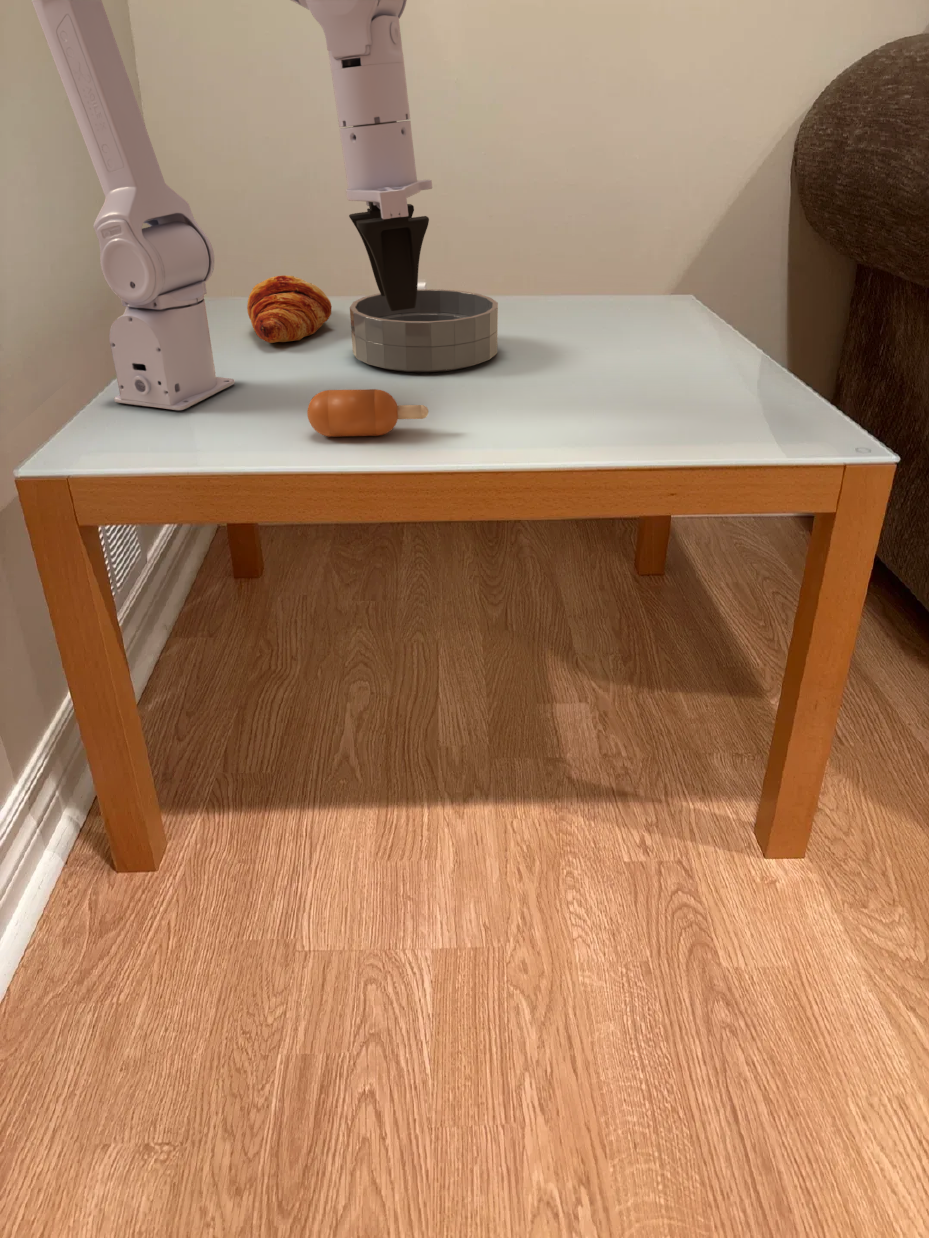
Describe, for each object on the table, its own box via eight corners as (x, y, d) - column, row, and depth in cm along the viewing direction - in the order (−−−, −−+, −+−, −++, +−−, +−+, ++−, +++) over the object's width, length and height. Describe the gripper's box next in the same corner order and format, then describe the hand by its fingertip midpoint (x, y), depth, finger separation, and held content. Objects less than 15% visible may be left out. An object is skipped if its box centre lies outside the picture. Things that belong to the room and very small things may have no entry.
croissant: (288, 335, 125) (255, 281, 121) (351, 299, 122) (319, 243, 119) (252, 378, 106) (211, 315, 103) (325, 337, 104) (286, 271, 100)
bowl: (467, 381, 95) (467, 327, 92) (328, 367, 100) (324, 315, 97) (515, 343, 108) (516, 295, 105) (390, 332, 113) (388, 285, 110)
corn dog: (308, 445, 80) (303, 404, 78) (311, 422, 83) (307, 382, 81) (429, 443, 81) (428, 402, 78) (428, 420, 84) (427, 380, 81)
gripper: (438, 118, 67) (456, 309, 74) (412, 119, 80) (430, 283, 86) (342, 129, 66) (370, 321, 73) (331, 129, 79) (356, 293, 86)
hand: (397, 301), depth 80 cm, fingers open, 7 cm apart
